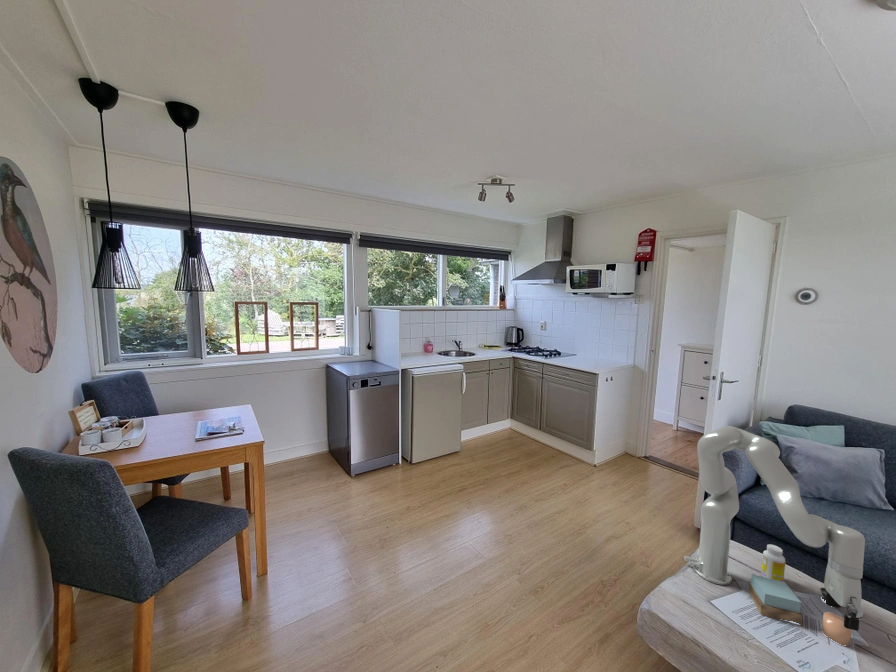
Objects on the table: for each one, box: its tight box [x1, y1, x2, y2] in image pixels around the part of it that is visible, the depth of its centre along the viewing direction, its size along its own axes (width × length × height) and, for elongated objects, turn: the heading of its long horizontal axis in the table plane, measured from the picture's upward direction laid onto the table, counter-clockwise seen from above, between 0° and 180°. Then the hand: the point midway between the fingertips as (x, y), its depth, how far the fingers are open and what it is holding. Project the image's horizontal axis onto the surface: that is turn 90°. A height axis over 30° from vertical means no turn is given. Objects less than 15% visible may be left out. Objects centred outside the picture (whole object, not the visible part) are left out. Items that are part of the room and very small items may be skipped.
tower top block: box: [750, 574, 802, 614], centre depth 129 cm, size 10×10×4 cm
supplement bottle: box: [760, 543, 786, 582], centre depth 143 cm, size 7×7×13 cm
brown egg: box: [821, 611, 853, 647], centre depth 117 cm, size 6×6×6 cm
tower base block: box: [748, 582, 803, 625], centre depth 129 cm, size 11×11×4 cm
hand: (841, 617), depth 116 cm, fingers open, 9 cm apart
